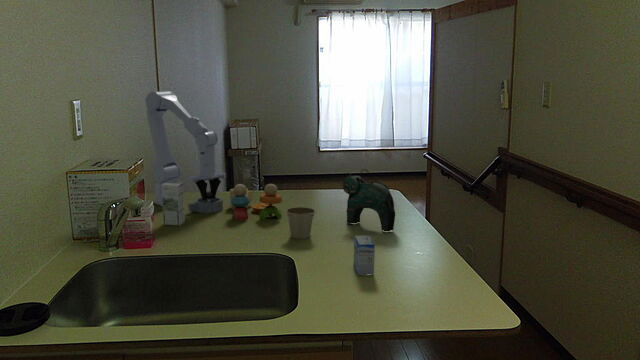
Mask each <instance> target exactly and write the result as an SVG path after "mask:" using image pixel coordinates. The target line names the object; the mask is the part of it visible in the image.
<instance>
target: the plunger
mask: <svg viewBox="0 0 640 360" xmlns="http://www.w3.org/2000/svg"><path fill="white" fill-rule="evenodd" d="M206 198H207V202H210V198H213V192H211V191H210V190H209V191H206Z"/></svg>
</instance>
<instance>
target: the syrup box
mask: <svg viewBox="0 0 640 360" xmlns="http://www.w3.org/2000/svg"><path fill="white" fill-rule="evenodd" d="M162 201H163V206H162V215H163V217H162V219H163V226H170V227H171V226H175V227H176V226H177V227H178V226H179V227H180V226H181V225H182V224H185V208H184V207H185V202H184V201H185V200H184V183H183V181H177V182H165V183H163V184H162Z"/></svg>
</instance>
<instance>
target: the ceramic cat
mask: <svg viewBox="0 0 640 360" xmlns="http://www.w3.org/2000/svg"><path fill="white" fill-rule="evenodd" d="M363 171H365V172H367V174H370V172H369V170H368V169H366V168H364V169H362V170H361V172H360V175H352V174H351V173H350V172H348V173H347V174H346V177H345V178H344V180H343V182H342V188H343V191H344V193H346V194H348V198H347V201H346V202H347V204H346V205H347V206H346V223H347V222H348V223H357V222H360V223H361V214H362V212H363V210H364V209H371V210H373V211H375V212H376V213H377V215H378V217H379V221H380V225H381V231H382V230H384V231H390V230H393V231H394V229H395V228H394V227H395V221H396V220H395V219H396V210H395V202H394V199H393V195H392V194H391V192H390V189H389V188H388V186H387V184H385V183H384V182H381V181H379V180H375V181H374V180H373V181H369V182H368V181H367V182H366V180H364V179H363V176H362V175H363Z"/></svg>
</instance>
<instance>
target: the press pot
mask: <svg viewBox="0 0 640 360" xmlns="http://www.w3.org/2000/svg"><path fill="white" fill-rule="evenodd" d="M187 207H188V212H196V213H201V214H213V213H219V212H221V211H224V203H223V198H222V197H220V196H219V197H218V196H215V199H213V198H210V202H207V198H206V200H203V199H202V197H198V198H195V199H194V202H190V203H188V206H187Z"/></svg>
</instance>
